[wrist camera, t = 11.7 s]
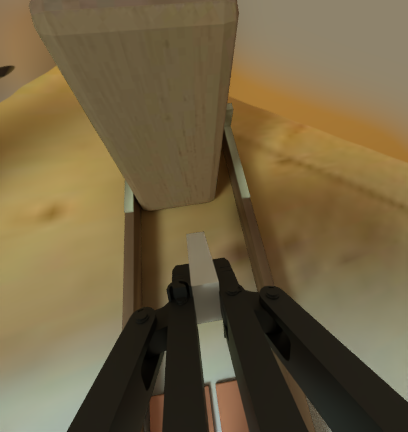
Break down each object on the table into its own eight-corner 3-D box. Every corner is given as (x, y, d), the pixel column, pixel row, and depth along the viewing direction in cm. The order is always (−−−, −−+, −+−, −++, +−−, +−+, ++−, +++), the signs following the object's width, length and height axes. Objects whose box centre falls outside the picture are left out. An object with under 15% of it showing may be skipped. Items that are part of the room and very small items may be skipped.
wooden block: (203, 149, 31) (207, -73, 13) (216, 203, 27) (248, -7, 9) (139, 157, 30) (47, -68, 12) (142, 214, 26) (10, 6, 8)
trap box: (131, 515, 15) (93, 630, 10) (133, 146, 31) (119, 112, 26) (313, 472, 16) (369, 555, 11) (226, 137, 32) (231, 103, 27)
